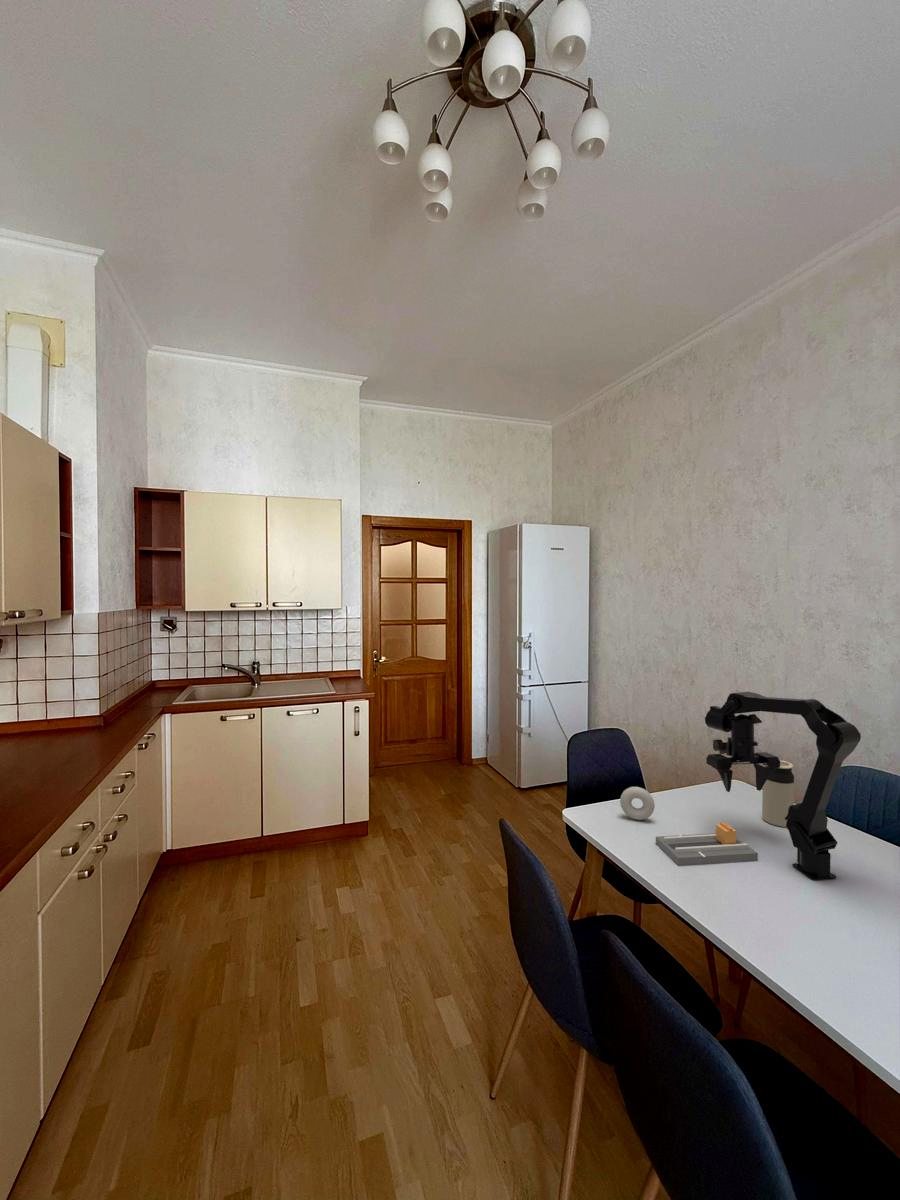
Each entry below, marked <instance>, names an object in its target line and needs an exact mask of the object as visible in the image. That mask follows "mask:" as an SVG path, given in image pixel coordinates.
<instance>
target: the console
mask: <svg viewBox="0 0 900 1200" xmlns="http://www.w3.org/2000/svg"><path fill="white" fill-rule="evenodd" d="M656 844H657V845H658V846H659V847H660V848H659V847H658V846H657V845H656ZM655 845H656V846H657V847H658V848H659V849H661V851H662V852H663V853H664V854H665V855H667V856H668V858H670V859H671V861H673V863H675V864H676V866H678V867H680V866H693V865H696V866H697V865H711V864H724V863H725V864H726V863H740V862H756V861H759V858H758V857H759V854H758V853H759V852H757V851H755V850H754V849H753V848H752V847H751V846H749V844H748V843H747V842H746V843H745V842H743V841H742V840H741V839H739V838H738V837H736V844H727V845H723V844H722V843H721V842H719V841H718V840H717V839H716V832H713V833H711V832H710V833H696V834H679V833H678V834H677V835H661V836H655Z"/></svg>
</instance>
